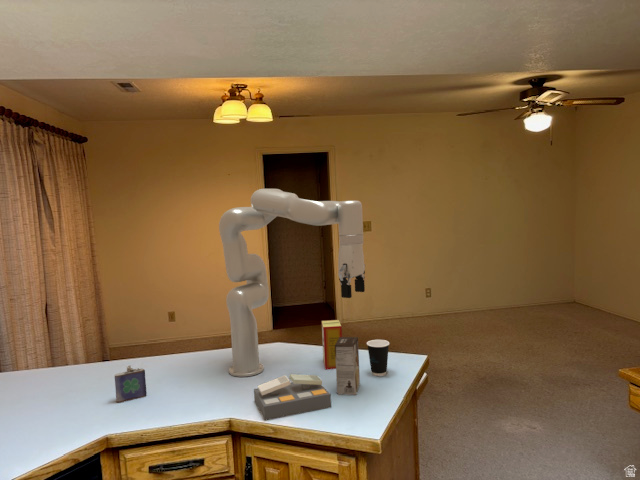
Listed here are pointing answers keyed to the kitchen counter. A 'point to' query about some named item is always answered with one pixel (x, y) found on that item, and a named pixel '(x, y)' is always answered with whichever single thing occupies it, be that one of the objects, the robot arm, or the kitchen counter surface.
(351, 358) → the coffee box
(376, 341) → the dixie cup
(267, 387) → the rocker offwhite
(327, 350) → the baking soda box
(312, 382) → the block
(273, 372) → the kitchen counter surface
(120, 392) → the flask
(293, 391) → the switch unit
